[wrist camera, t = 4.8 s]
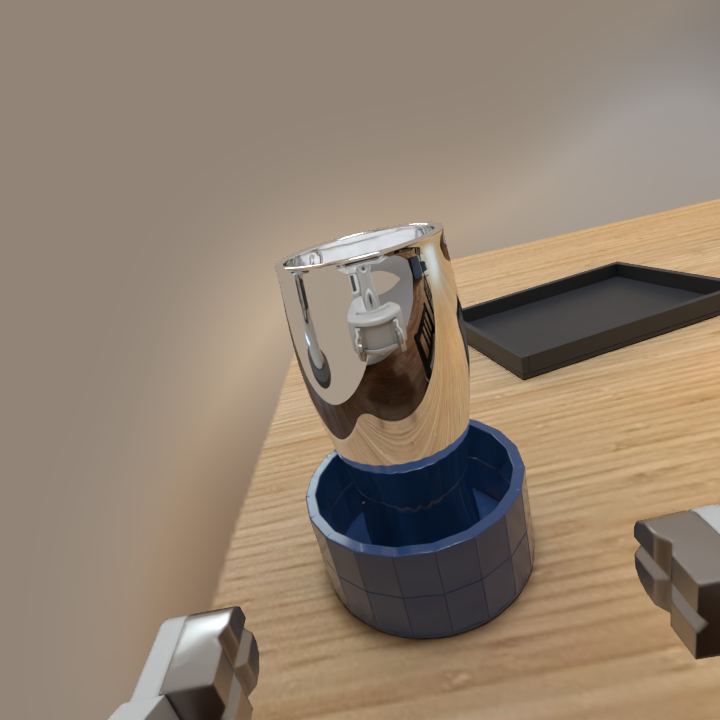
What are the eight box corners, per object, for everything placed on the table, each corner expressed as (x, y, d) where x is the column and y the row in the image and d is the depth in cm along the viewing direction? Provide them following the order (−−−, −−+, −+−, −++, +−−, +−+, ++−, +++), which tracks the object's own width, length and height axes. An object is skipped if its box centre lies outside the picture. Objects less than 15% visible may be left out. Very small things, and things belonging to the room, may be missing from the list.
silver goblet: (427, 478, 28) (372, 224, 22) (529, 534, 22) (489, 213, 17) (333, 547, 24) (240, 268, 19) (424, 633, 19) (331, 272, 13)
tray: (523, 380, 36) (521, 358, 36) (447, 330, 50) (444, 314, 50) (750, 304, 39) (752, 283, 38) (617, 277, 53) (617, 261, 52)
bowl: (354, 676, 18) (324, 593, 16) (317, 515, 27) (296, 452, 26) (582, 585, 19) (575, 499, 18) (473, 461, 28) (463, 397, 27)
